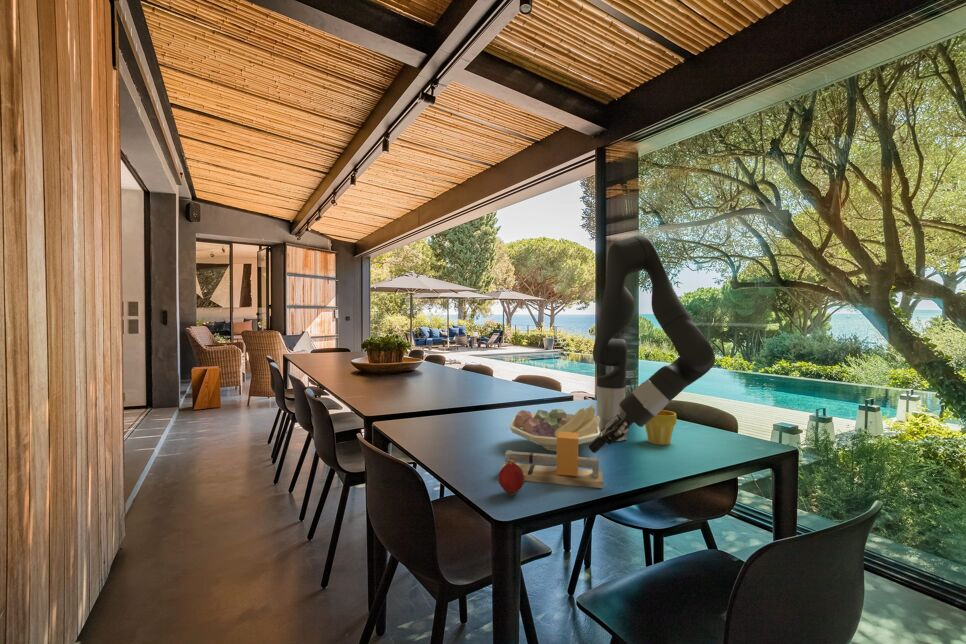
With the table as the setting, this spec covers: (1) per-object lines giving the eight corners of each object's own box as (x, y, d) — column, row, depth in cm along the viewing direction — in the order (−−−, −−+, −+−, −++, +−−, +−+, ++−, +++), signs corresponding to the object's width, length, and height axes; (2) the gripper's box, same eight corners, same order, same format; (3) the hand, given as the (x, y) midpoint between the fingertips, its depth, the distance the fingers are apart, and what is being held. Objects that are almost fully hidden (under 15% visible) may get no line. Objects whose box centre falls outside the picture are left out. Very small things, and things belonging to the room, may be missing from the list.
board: (601, 476, 117) (602, 470, 117) (602, 488, 109) (603, 481, 109) (504, 467, 122) (504, 461, 122) (499, 478, 115) (499, 471, 115)
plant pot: (637, 437, 155) (638, 408, 155) (669, 438, 155) (669, 409, 155) (647, 446, 145) (648, 415, 145) (681, 447, 145) (681, 416, 144)
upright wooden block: (577, 468, 117) (578, 432, 117) (577, 476, 111) (577, 438, 111) (557, 466, 118) (558, 431, 118) (556, 474, 113) (557, 437, 112)
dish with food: (612, 463, 127) (613, 412, 127) (510, 461, 128) (511, 410, 128) (590, 437, 155) (591, 395, 155) (507, 435, 156) (507, 393, 156)
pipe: (598, 473, 115) (598, 457, 115) (598, 478, 112) (598, 461, 112) (507, 465, 120) (507, 450, 120) (504, 469, 117) (505, 453, 117)
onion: (508, 487, 108) (509, 454, 108) (529, 494, 105) (529, 459, 105) (493, 495, 104) (493, 459, 104) (514, 502, 100) (514, 465, 100)
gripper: (630, 387, 118) (580, 431, 121) (635, 395, 105) (579, 445, 108) (652, 409, 117) (601, 453, 119) (660, 420, 104) (602, 470, 107)
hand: (590, 449), depth 114 cm, fingers closed
